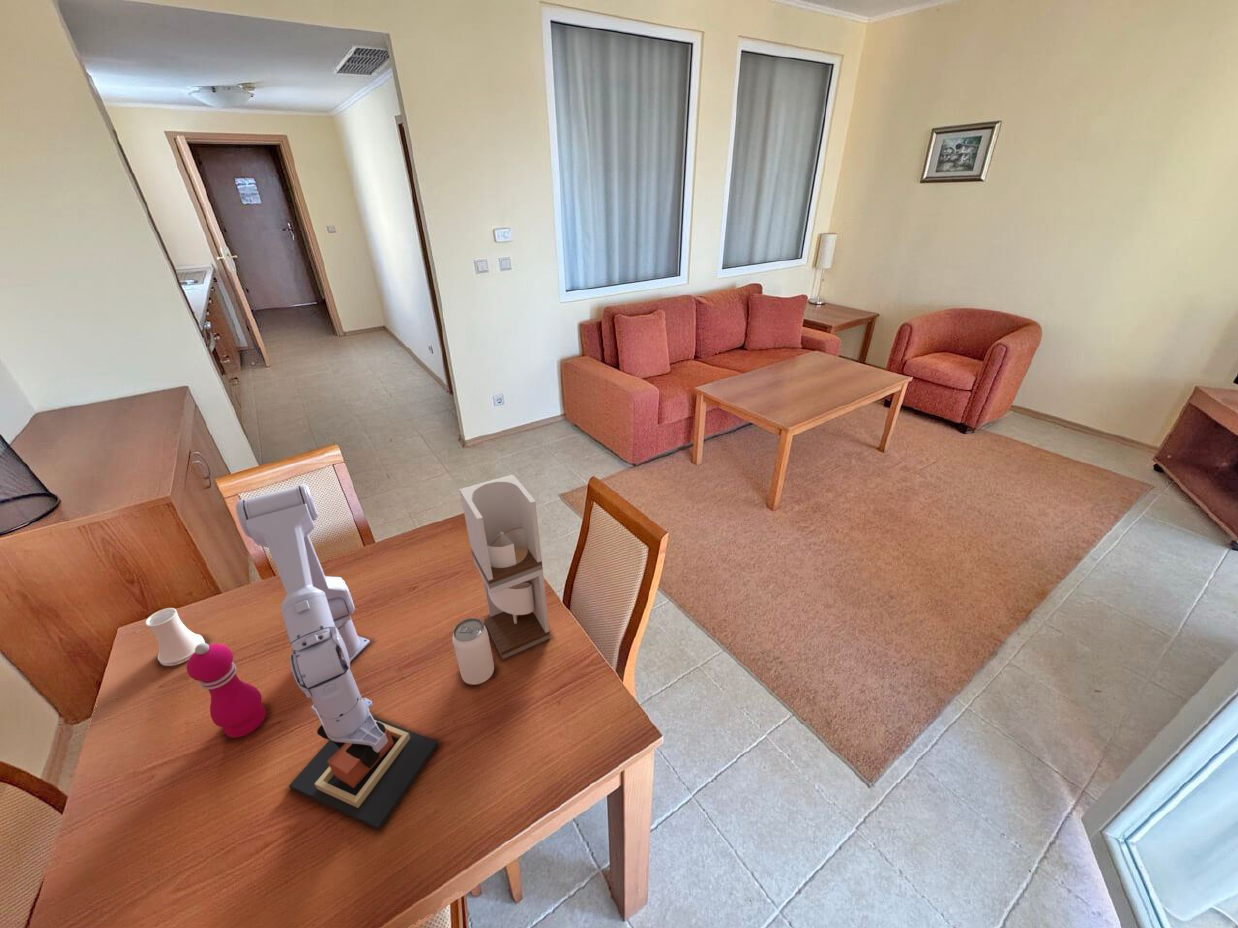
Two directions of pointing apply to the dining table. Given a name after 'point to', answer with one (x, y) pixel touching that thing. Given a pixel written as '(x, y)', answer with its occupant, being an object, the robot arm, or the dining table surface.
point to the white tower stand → (508, 561)
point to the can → (473, 651)
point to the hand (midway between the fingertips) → (362, 754)
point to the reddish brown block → (353, 763)
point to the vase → (173, 637)
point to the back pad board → (368, 778)
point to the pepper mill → (226, 690)
